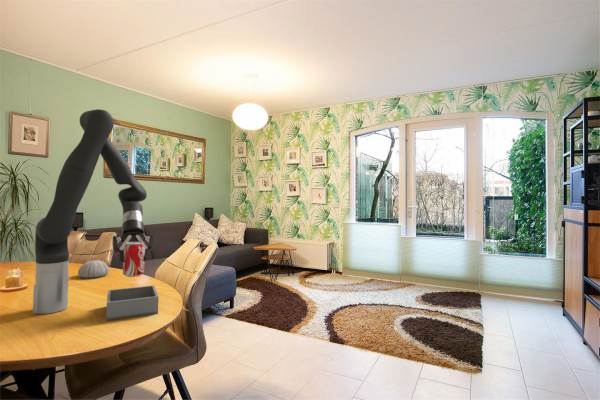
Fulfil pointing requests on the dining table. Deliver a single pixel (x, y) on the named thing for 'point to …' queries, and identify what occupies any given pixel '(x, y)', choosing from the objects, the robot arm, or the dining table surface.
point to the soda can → (133, 259)
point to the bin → (131, 302)
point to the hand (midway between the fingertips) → (133, 260)
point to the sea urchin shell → (93, 269)
